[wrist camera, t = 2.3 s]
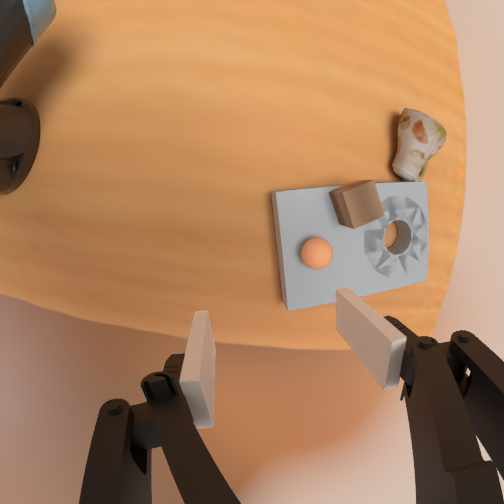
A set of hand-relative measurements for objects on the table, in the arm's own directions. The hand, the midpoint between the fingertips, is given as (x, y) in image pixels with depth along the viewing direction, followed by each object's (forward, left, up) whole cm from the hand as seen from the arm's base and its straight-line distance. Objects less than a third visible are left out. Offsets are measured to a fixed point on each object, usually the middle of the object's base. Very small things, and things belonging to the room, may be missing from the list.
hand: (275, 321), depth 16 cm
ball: (+7, 0, -14) cm, 16 cm away
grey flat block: (+14, 0, -19) cm, 24 cm away
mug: (+24, +12, -19) cm, 33 cm away
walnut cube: (+12, +5, -16) cm, 20 cm away
